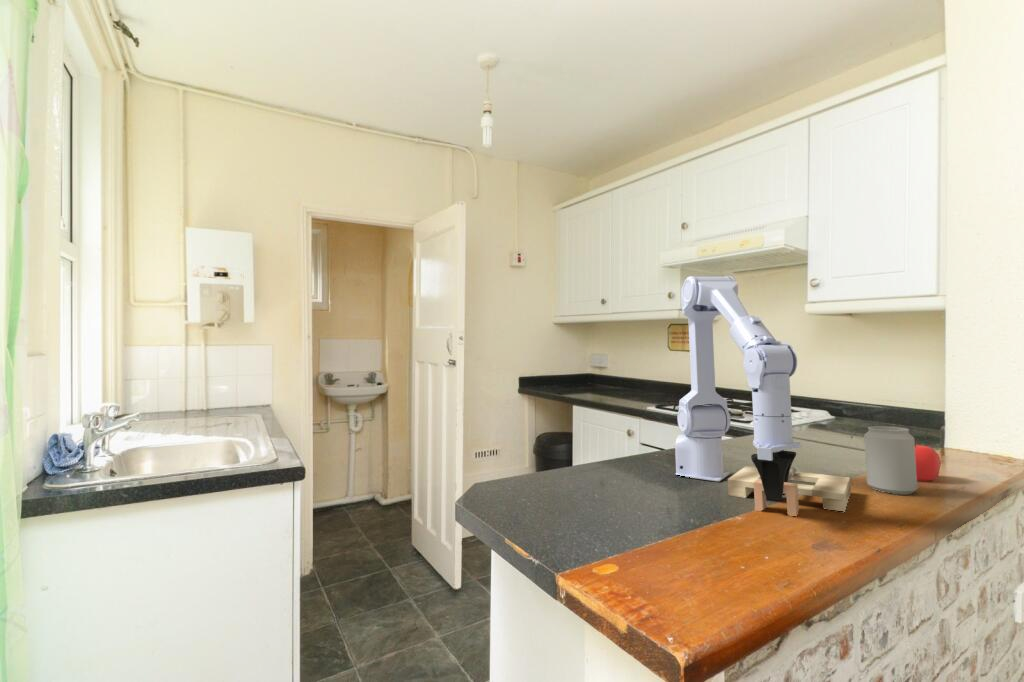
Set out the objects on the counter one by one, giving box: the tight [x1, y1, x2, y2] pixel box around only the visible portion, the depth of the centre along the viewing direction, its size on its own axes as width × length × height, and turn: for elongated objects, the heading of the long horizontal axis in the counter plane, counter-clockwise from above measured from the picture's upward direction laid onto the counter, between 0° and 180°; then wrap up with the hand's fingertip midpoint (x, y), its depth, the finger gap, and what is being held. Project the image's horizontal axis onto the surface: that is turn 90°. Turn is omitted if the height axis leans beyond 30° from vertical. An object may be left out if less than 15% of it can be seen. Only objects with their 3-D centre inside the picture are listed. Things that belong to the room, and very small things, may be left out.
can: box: [863, 425, 918, 496], centre depth 90 cm, size 8×8×12 cm
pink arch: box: [753, 479, 800, 517], centre depth 78 cm, size 6×3×5 cm, turn 51°
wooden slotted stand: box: [727, 465, 852, 513], centre depth 88 cm, size 18×14×4 cm
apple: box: [914, 439, 942, 482], centre depth 98 cm, size 8×8×8 cm
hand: (776, 496), depth 78 cm, fingers closed on pink arch, 3 cm apart
